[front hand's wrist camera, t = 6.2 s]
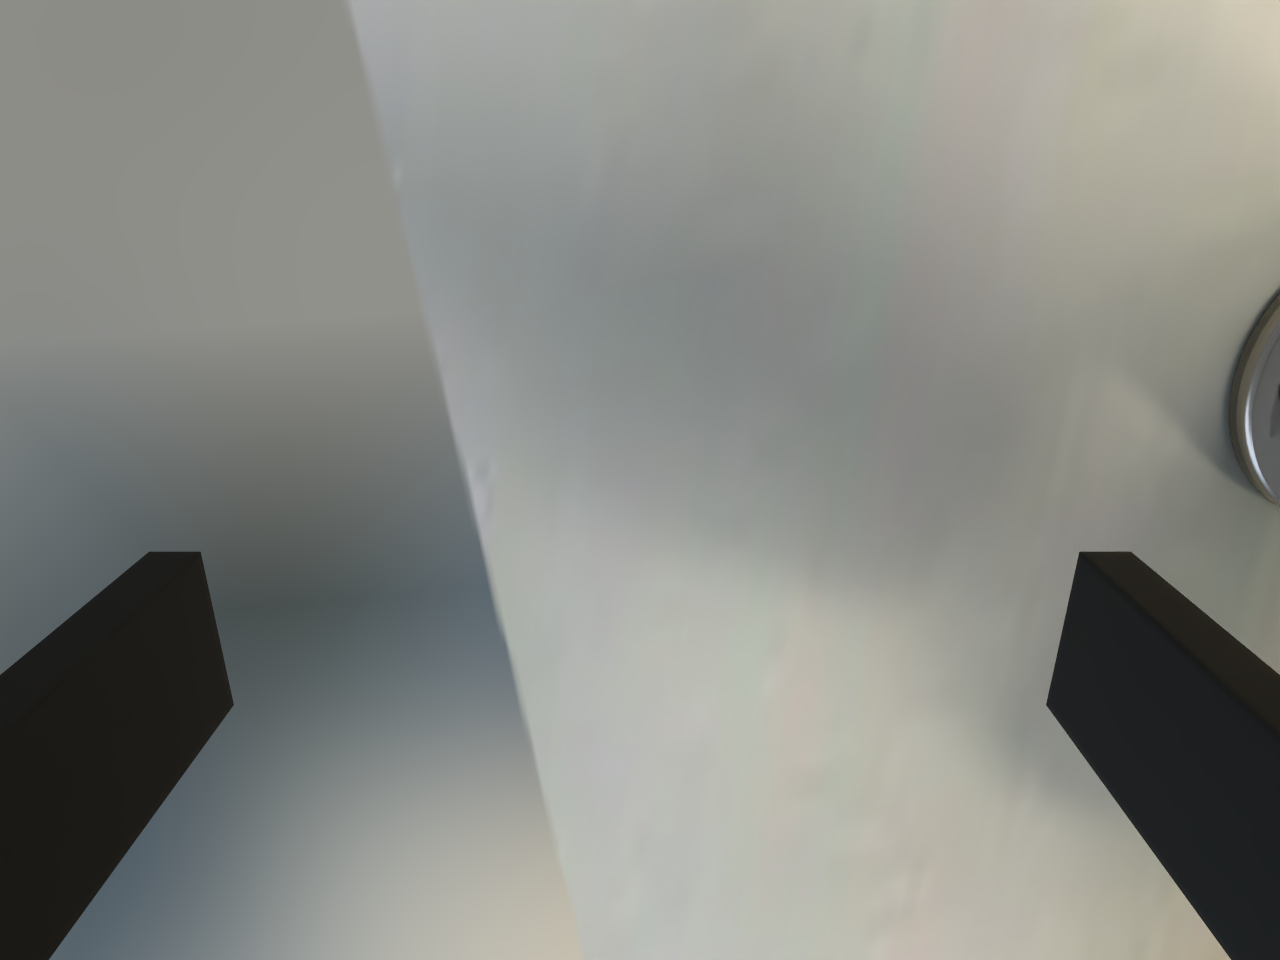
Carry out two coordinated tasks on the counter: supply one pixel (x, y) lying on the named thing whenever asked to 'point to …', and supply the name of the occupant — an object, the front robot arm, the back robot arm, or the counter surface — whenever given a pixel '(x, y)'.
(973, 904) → the counter surface
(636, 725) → the counter surface
